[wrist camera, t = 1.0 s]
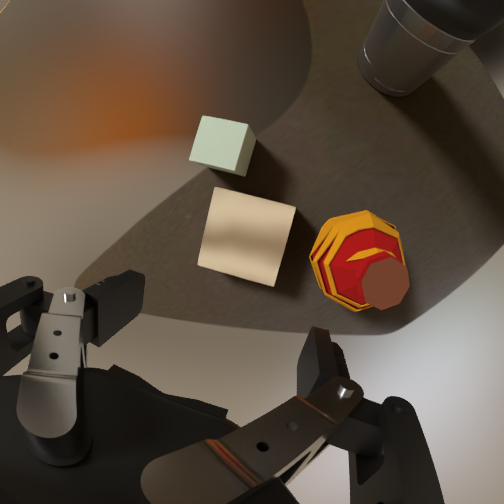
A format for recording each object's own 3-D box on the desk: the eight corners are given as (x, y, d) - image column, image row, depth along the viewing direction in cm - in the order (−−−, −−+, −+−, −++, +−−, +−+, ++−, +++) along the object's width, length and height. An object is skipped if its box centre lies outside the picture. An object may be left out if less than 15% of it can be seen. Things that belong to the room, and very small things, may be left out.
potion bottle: (387, 212, 31) (450, 222, 17) (377, 290, 33) (424, 344, 19) (308, 203, 33) (324, 206, 18) (301, 285, 35) (308, 342, 20)
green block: (218, 131, 32) (202, 115, 26) (256, 139, 32) (248, 124, 25) (208, 167, 33) (188, 160, 27) (245, 176, 33) (234, 170, 26)
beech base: (225, 188, 34) (214, 187, 29) (294, 206, 33) (295, 207, 28) (209, 256, 36) (197, 264, 31) (275, 274, 35) (273, 286, 30)
